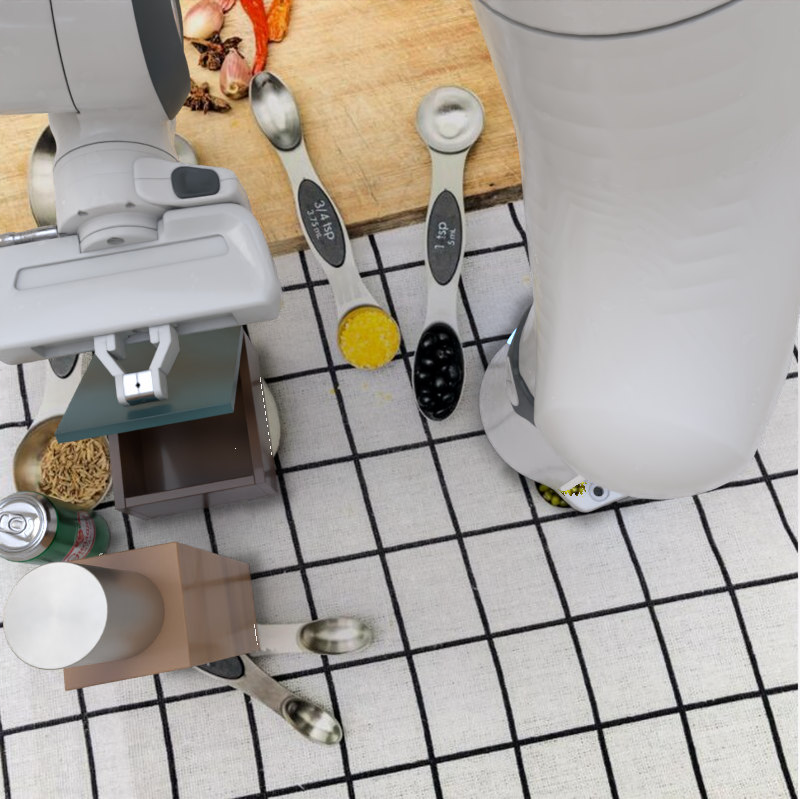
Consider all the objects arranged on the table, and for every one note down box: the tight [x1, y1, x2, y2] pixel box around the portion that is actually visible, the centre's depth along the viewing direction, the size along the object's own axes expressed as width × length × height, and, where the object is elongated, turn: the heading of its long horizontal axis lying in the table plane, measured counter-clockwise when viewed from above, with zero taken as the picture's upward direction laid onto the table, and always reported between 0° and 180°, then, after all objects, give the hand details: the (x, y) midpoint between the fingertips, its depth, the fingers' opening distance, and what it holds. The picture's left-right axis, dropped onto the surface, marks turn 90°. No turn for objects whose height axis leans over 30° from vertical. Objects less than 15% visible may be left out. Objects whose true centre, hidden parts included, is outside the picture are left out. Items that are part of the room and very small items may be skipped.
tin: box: [2, 561, 164, 671], centre depth 42 cm, size 5×5×9 cm
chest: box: [107, 329, 280, 520], centre depth 68 cm, size 13×12×7 cm
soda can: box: [0, 490, 111, 566], centre depth 64 cm, size 5×5×12 cm
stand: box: [62, 541, 261, 692], centre depth 57 cm, size 7×7×22 cm
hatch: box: [54, 325, 245, 445], centre depth 60 cm, size 13×12×1 cm
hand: (143, 401), depth 55 cm, fingers closed
